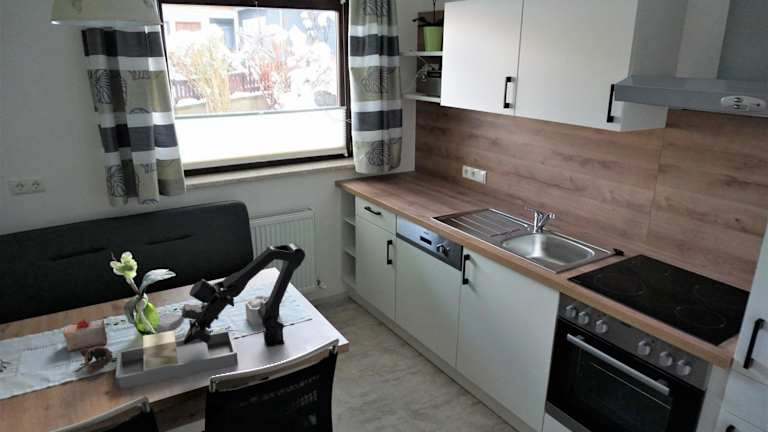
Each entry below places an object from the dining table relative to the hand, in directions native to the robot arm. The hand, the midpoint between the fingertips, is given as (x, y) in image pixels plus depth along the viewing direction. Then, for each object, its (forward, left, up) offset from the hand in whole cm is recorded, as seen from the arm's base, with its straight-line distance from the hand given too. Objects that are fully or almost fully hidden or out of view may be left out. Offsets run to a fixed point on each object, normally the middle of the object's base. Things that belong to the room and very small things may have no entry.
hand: (183, 343), depth 179 cm
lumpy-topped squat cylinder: (-31, -21, -8) cm, 39 cm away
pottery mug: (+28, -10, -8) cm, 31 cm away
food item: (+33, -26, -8) cm, 43 cm away
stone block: (+6, -30, -8) cm, 31 cm away
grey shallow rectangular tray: (+2, 0, -7) cm, 8 cm away
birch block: (+8, 0, -4) cm, 9 cm away
